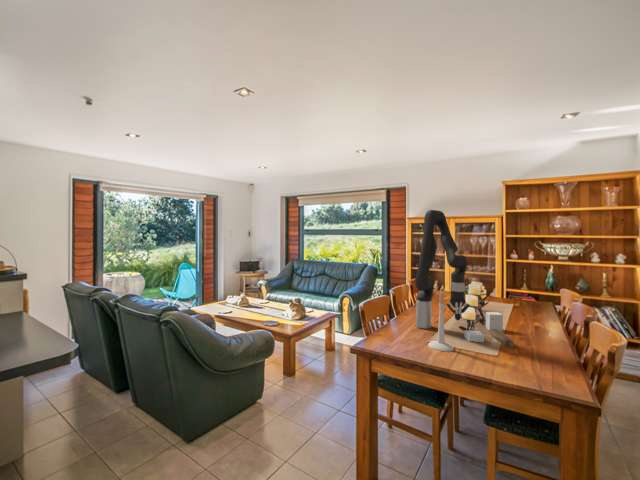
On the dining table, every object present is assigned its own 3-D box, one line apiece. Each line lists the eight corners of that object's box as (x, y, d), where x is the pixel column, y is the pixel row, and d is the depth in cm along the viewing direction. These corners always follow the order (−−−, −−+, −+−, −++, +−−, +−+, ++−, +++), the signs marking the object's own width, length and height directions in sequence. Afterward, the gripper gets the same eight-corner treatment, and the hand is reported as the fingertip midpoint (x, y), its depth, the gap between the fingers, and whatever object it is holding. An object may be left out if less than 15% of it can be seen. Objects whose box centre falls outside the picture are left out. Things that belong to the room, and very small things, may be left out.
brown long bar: (505, 346, 166) (505, 340, 166) (489, 334, 186) (489, 328, 186) (513, 347, 166) (513, 340, 166) (496, 334, 186) (496, 329, 185)
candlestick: (442, 353, 157) (443, 294, 156) (423, 345, 168) (423, 290, 167) (459, 349, 163) (460, 292, 162) (439, 341, 174) (440, 288, 173)
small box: (498, 328, 198) (499, 312, 197) (502, 331, 192) (503, 314, 192) (485, 328, 198) (485, 311, 198) (489, 331, 193) (489, 314, 192)
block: (469, 341, 174) (469, 334, 174) (464, 337, 182) (464, 330, 182) (484, 342, 173) (484, 335, 173) (478, 337, 181) (478, 331, 181)
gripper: (447, 291, 175) (447, 321, 176) (472, 291, 174) (472, 322, 174) (443, 288, 183) (443, 318, 183) (467, 288, 181) (467, 318, 181)
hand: (457, 319), depth 178 cm, fingers closed
